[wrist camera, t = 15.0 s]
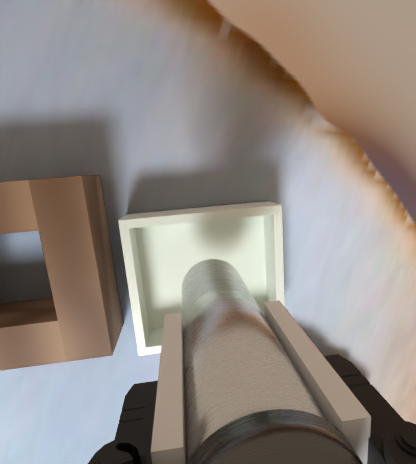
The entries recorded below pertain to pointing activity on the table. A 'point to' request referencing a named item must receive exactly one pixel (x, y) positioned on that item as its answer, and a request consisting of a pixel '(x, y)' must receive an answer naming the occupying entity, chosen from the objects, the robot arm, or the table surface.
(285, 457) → the capped bottle
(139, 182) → the table surface
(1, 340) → the bore block
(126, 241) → the tray
